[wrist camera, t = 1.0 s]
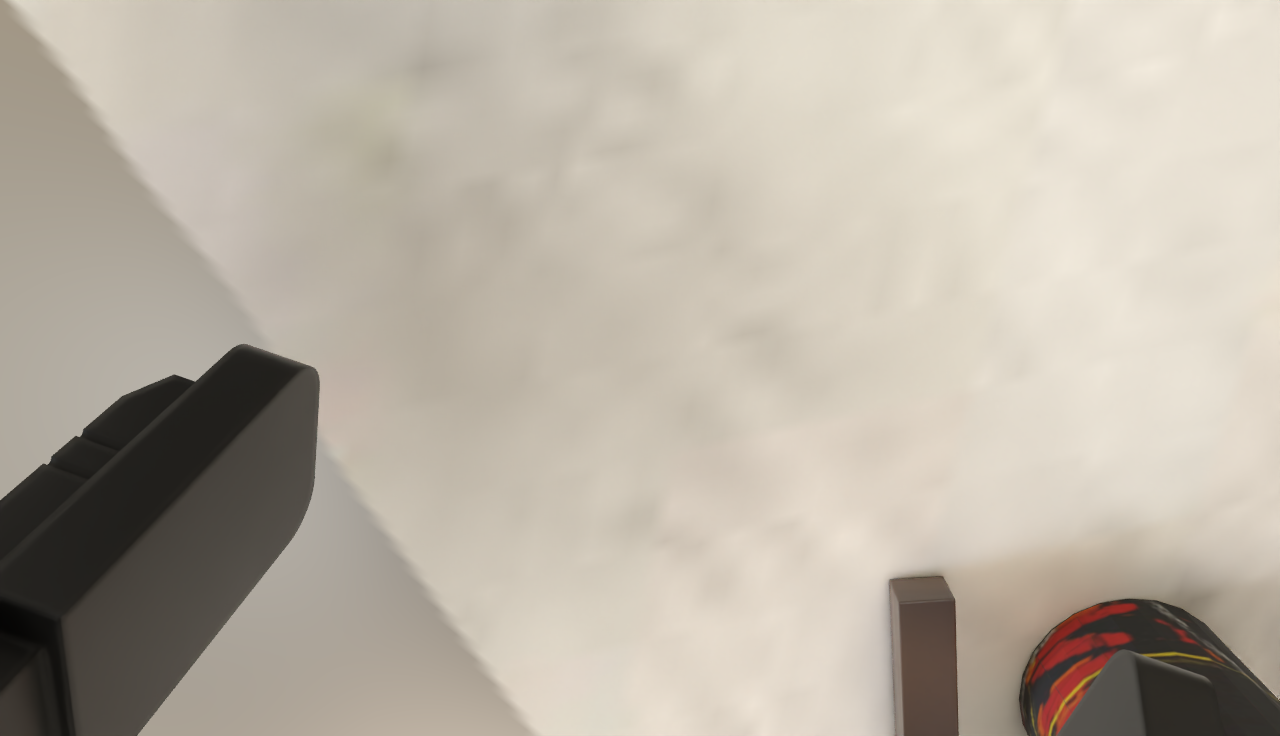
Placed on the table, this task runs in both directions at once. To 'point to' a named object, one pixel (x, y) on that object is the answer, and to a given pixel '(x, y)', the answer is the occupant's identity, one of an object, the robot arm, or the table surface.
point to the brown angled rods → (924, 657)
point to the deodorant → (1088, 639)
